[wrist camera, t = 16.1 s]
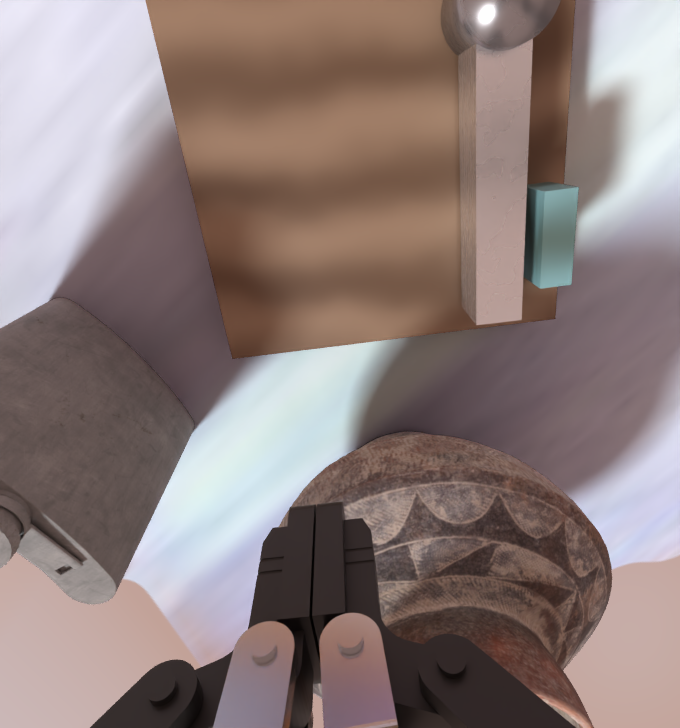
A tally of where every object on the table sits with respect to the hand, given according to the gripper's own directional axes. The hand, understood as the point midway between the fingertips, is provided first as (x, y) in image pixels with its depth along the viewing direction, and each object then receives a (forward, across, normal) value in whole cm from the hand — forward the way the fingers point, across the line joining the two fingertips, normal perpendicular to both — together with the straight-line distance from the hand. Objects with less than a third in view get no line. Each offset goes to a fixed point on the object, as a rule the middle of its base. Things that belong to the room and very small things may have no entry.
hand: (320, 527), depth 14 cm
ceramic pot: (+27, -5, +21) cm, 35 cm away
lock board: (+27, -4, -7) cm, 28 cm away
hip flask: (+27, +18, +6) cm, 33 cm away
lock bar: (+24, -11, -8) cm, 27 cm away
